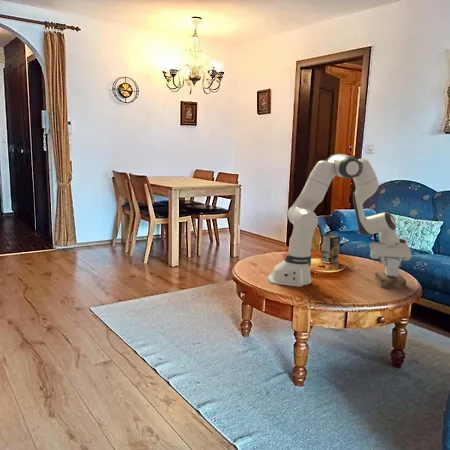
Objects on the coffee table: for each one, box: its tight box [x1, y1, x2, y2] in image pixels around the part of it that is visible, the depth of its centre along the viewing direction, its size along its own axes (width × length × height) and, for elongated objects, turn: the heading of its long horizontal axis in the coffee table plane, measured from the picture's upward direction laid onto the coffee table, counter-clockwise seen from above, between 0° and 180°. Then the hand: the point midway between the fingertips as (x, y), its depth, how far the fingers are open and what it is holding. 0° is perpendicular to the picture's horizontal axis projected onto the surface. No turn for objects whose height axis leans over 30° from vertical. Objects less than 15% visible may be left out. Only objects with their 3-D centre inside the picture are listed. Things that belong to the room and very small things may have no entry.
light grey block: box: [384, 258, 400, 276], centre depth 222 cm, size 5×5×8 cm
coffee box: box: [320, 234, 341, 263], centre depth 258 cm, size 9×6×16 cm
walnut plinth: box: [374, 272, 407, 289], centre depth 224 cm, size 12×12×4 cm
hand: (392, 266), depth 221 cm, fingers open, 5 cm apart
